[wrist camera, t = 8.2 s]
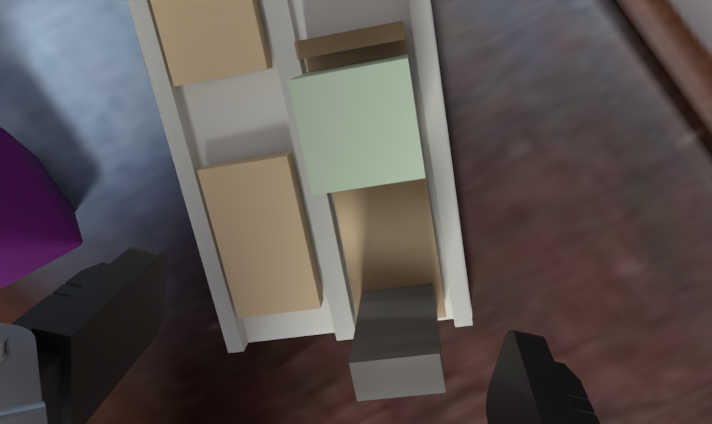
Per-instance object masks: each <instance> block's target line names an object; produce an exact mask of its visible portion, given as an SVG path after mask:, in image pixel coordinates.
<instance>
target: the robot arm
mask: <svg viewBox="0 0 712 424" xmlns="http://www.w3.org/2000/svg"><path fill="white" fill-rule="evenodd" d="M165 278H166V257H165V255H164V254H162V253H157V252H152V251H148V250H143V249H139V248H134V247H131V248H129V249H127V250H126V251H125V252H124V253H122V254H121V255H120V256H119V257H118V258H116V259H115V260H114V261H113V262H111V263H110V264H107V263H100V264H98V265H95V266H92V267H90V268H87V269H84V270H81V271H80V272H79V273H77V274H76V275H75V276H73V277H72V278H71V279H69V280H68V281H67V282H66V284H65V285H62V286H60V287H59V288H58V289H56V290H55V291H54V292H53V295H52V294H50V295H49V296H47V297H46V298H45V299H43V300H42V301H41V302H39V303H38V304H37V305H35V306H34V307H33V308H32V309H30V310H29V311H28V312H26V313H25V314H24V315H22V316H21V317H20V318H18V319H17V320H16V321H15V322H13V323H12V324H0V424H85V423H86V422H87V421H88V420H89V418H90V417H91V416H92V415H93V413H94V412H95V411H96V410H97V409H98V407H99V406H100V405H101V404H102V402H103V401H104V400H105V399H106V397H107V396H108V395H109V394H110V392H111V391H112V390H113V389H114V387H115V386H116V385H117V384H118V383H119V381H120V380H121V379H122V378H123V376H124V375H125V374H126V373H127V371H128V370H129V369H130V368H131V366H132V365H133V364H134V363H135V362H136V360H137V359H138V358H139V357H140V355H141V354H142V353H143V352H144V350H145V349H146V348H147V347H148V345H149V344H150V343H151V342H152V340H153V339H154V338H155V336H156V334H157V332H158V330H159V327H160V324H161V321H162V317H163V308H164V293H165ZM486 414H487V420H488V424H600V423H599V420H598V418H597V416H596V415H594V409H593V407H592V405H591V403H590V401H588V396H587V394H586V392H585V389H584V387H583V385H582V383H581V381H580V379H579V378H578V377H577V376H576V375H575V374H574V373H573V372H572V371H571V370H570V369H569V368H568V367H567V366H566V365H565V364H564V363H559V362H555V361H554V359H553V357H552V354H551V352H550V349H549V347H548V344H547V342H546V340H545V338H544V337H543V336H538V335H533V334H529V333H524V332H520V331H515V330H509V331H508V332H507V334H506V336H505V339H504V342H503V345H502V348H501V351H500V354H499V357H498V360H497V363H496V366H495V369H494V372H493V375H492V378H491V381H490V384H489V388H488V392H487V399H486Z"/></svg>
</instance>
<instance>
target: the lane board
mask: <svg viewBox="0 0 712 424" xmlns="http://www.w3.org/2000/svg"><path fill="white" fill-rule="evenodd" d="M127 2H128V5H129V9H130V12H131V16H132V19H133V22H134V26H135V29H136V33H137V36H138V40H139V43H140V47H141V50H142V54H143V57H144V61H145V64H146V68H147V71H148V75H149V78H150V82H151V85H152V89H153V92H154V96H155V99H156V103H157V106H158V110H159V113H160V117H161V120H162V124H163V127H164V131H165V134H166V138H167V141H168V145H169V148H170V152H171V155H172V159H173V162H174V165H175V169H176V172H177V176H178V179H179V183H180V186H181V190H182V193H183V197H184V200H185V204H186V207H187V211H188V214H189V218H190V221H191V225H192V228H193V232H194V235H195V239H196V242H197V246H198V249H199V253H200V256H201V260H202V263H203V267H204V270H205V274H206V277H207V281H208V284H209V288H210V291H211V295H212V298H213V301H214V305H215V308H216V312H217V315H218V319H219V322H220V326H221V329H222V333H223V336H224V340H225V343H226V347H227V350H228V353H234V352H243V351H244V350H245V348H246V346H247V344H248V343H249V342H258V341H266V340H275V339H283V338H292V337H300V336H309V335H317V334H326V333H335V335H336V339H337V341H339V340H348V339H353V338H354V332H355V326H356V320H357V312H356V307H355V302H354V297H353V292H352V287H351V282H350V277H349V272H348V267H347V263H346V258H345V253H344V248H343V243H342V238H341V233H340V228H339V223H338V218H337V213H336V208H335V203H334V198H333V193H325V194H319V195H312V193H311V188H310V184H309V179H308V174H307V170H306V165H305V160H304V156H303V151H302V146H301V142H300V137H299V132H298V128H297V123H296V118H295V114H294V109H293V104H292V100H291V95H290V90H289V86H288V81H287V80H290V79H292V78H295V77H297V76H299V75H302V74H304V73H307V72H308V70H307V65H306V60H305V58H303V59H298V60H297V55H296V50H295V45H294V42H295V41H300V40H305V39H310V38H315V37H321V36H326V35H331V34H336V33H341V32H346V31H351V30H357V29H362V28H367V27H372V26H377V25H382V24H388V23H393V22H398V21H403V25H404V32H405V39H406V46H407V52H408V59H409V66H410V73H411V79H412V86H413V93H414V100H415V107H416V113H417V120H418V127H419V134H420V140H421V147H422V154H423V161H424V167H425V174H426V181H427V188H428V194H429V201H430V208H431V215H432V221H433V228H434V235H435V242H436V248H437V255H438V262H439V269H440V275H441V282H442V289H443V296H444V302H445V309H446V316H447V317H443V318H438V320H446V319H454V323H455V327H461V326H470V325H473V324H472V309H471V302H470V294H469V286H468V279H467V271H466V264H465V256H464V249H463V241H462V234H461V226H460V218H459V211H458V203H457V196H456V188H455V181H454V173H453V165H452V158H451V150H450V143H449V135H448V128H447V120H446V113H445V105H444V97H443V90H442V82H441V75H440V67H439V60H438V52H437V45H436V37H435V29H434V22H433V14H432V7H431V0H127Z"/></svg>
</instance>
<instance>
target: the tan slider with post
mask: <svg viewBox="0 0 712 424" xmlns="http://www.w3.org/2000/svg"><path fill="white" fill-rule="evenodd" d="M294 45H295V50H296V55H297V60H298V59H303V58H305V60H306V65H307V70H308V72H311V71H316V70H322V69H327V68H332V67H338V66H343V65H349V64H354V63H359V62H365V61H370V60H376V59H381V58H386V57H392V56H397V55H403V54H408V52H407V46H406V39H405V32H404V25H403V21H398V22H393V23H388V24H382V25H377V26H372V27H367V28H362V29H357V30H351V31H346V32H341V33H336V34H331V35H326V36H321V37H315V38H310V39H305V40H300V41H295V42H294ZM408 60H409V59H408ZM411 80H412V79H411ZM412 87H413V86H412ZM416 114H417V113H416ZM420 141H421V140H420ZM423 162H424V161H423ZM424 169H425V167H424ZM425 177H426V174H425ZM332 193H333V198H334V203H335V208H336V213H337V218H338V223H339V228H340V233H341V238H342V243H343V248H344V253H345V258H346V263H347V267H348V272H349V277H350V282H351V287H352V292H353V297H354V302H355V307H356V312H357V320H356V326H355V332H354V338H353V343H352V349H351V355H350V361H349V365H350V370H351V375H352V379H353V384H354V389H355V393H356V398H357V401H364V400H374V399H385V398H395V397H405V396H415V395H425V394H435V393H445V392H446V390H445V381H444V372H443V363H442V354H441V344H440V335H439V326H438V318H443V317H447V316H446V309H445V302H444V296H443V289H442V282H441V275H440V269H439V262H438V255H437V248H436V242H435V235H434V228H433V221H432V215H431V208H430V201H429V194H428V188H427V181H426V178H423V179H417V180H410V181H403V182H397V183H390V184H384V185H377V186H371V187H364V188H358V189H351V190H345V191H338V192H332Z"/></svg>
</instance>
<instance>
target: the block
mask: <svg viewBox="0 0 712 424" xmlns="http://www.w3.org/2000/svg"><path fill="white" fill-rule="evenodd" d="M287 81H288V86H289V90H290V95H291V100H292V104H293V109H294V114H295V118H296V123H297V128H298V132H299V137H300V142H301V146H302V151H303V156H304V160H305V165H306V170H307V174H308V179H309V184H310V188H311V193H312V195H319V194H325V193H332V192H338V191H345V190H351V189H358V188H364V187H371V186H377V185H384V184H390V183H397V182H403V181H410V180H417V179H423V178H426V177H425V169H424V162H423V154H422V147H421V141H420V134H419V127H418V120H417V114H416V107H415V100H414V93H413V87H412V80H411V73H410V66H409V60H408V54H403V55H397V56H392V57H386V58H381V59H376V60H370V61H365V62H359V63H354V64H349V65H343V66H338V67H332V68H327V69H322V70H316V71H311V72H307V73H304V74H302V75H299V76H297V77H295V78H292V79H290V80H287Z"/></svg>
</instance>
